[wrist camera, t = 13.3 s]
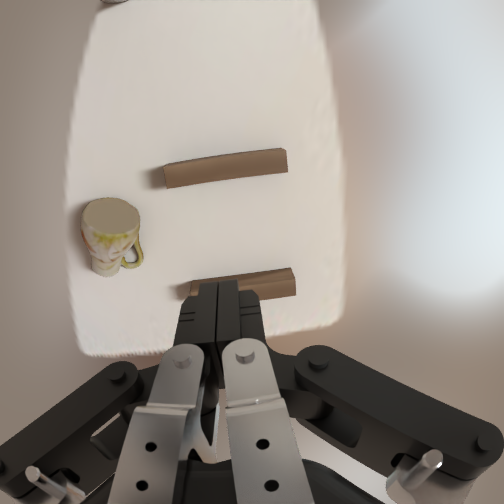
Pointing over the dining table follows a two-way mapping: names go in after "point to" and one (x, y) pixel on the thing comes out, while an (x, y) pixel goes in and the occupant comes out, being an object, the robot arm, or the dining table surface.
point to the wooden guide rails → (230, 168)
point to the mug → (110, 234)
